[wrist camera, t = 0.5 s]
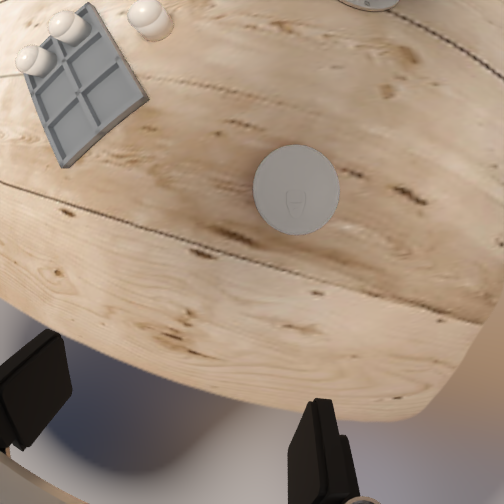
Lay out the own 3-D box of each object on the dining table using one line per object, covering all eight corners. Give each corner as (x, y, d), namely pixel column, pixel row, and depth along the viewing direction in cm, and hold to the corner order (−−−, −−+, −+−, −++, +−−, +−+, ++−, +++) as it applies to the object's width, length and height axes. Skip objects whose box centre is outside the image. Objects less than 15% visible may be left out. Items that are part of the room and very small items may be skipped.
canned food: (268, 225, 37) (267, 246, 27) (250, 163, 36) (240, 157, 25) (328, 209, 36) (350, 223, 26) (310, 146, 35) (326, 134, 24)
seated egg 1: (53, 47, 32) (26, 36, 25) (60, 64, 32) (31, 52, 25) (35, 66, 32) (7, 57, 25) (41, 83, 33) (12, 75, 26)
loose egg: (165, 10, 31) (147, -14, 23) (179, 28, 31) (162, 4, 24) (138, 28, 31) (116, 7, 24) (150, 47, 32) (129, 26, 25)
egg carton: (94, 6, 30) (88, 1, 28) (149, 99, 34) (143, 96, 32) (28, 68, 33) (21, 66, 31) (69, 168, 37) (61, 168, 35)
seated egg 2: (86, 17, 30) (62, 0, 23) (95, 32, 31) (69, 15, 24) (65, 36, 31) (39, 22, 24) (72, 52, 32) (45, 38, 25)
